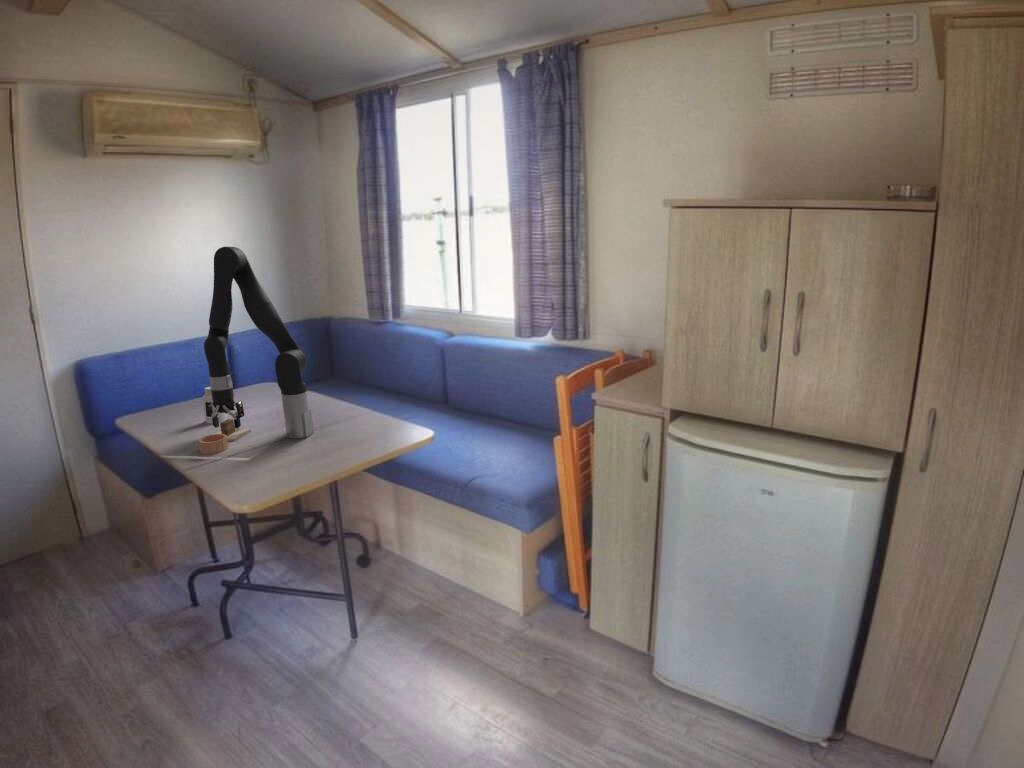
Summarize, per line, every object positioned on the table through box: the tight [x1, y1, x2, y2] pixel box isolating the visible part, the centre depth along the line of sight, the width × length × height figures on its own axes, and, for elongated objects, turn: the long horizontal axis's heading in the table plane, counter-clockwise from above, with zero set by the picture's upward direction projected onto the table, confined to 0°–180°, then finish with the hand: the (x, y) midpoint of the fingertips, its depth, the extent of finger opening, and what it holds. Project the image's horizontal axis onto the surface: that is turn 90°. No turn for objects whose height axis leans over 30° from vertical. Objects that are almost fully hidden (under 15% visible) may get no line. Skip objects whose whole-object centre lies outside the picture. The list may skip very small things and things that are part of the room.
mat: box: [228, 430, 252, 443], centre depth 235 cm, size 12×12×1 cm
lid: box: [214, 418, 251, 442], centre depth 234 cm, size 11×11×6 cm
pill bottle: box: [201, 386, 228, 425], centre depth 252 cm, size 8×8×15 cm
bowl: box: [198, 433, 229, 455], centre depth 221 cm, size 9×9×5 cm
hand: (227, 427), depth 235 cm, fingers open, 8 cm apart
